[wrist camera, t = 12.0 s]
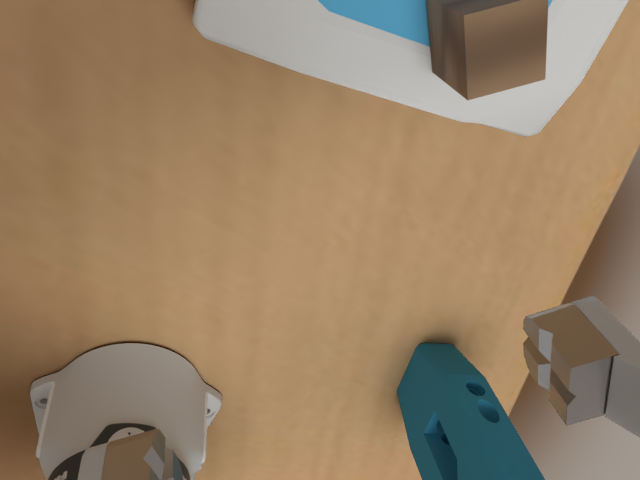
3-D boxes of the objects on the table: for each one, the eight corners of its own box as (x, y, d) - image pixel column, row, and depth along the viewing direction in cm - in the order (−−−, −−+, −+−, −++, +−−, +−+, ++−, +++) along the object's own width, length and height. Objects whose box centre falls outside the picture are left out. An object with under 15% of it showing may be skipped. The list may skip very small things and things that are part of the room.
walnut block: (500, 53, 38) (545, 79, 34) (432, 72, 38) (467, 100, 33) (499, -23, 36) (548, -7, 31) (425, -4, 35) (463, 15, 30)
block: (423, 330, 61) (509, 498, 44) (463, 333, 62) (560, 496, 46) (390, 405, 66) (455, 577, 50) (427, 405, 68) (502, 573, 52)
